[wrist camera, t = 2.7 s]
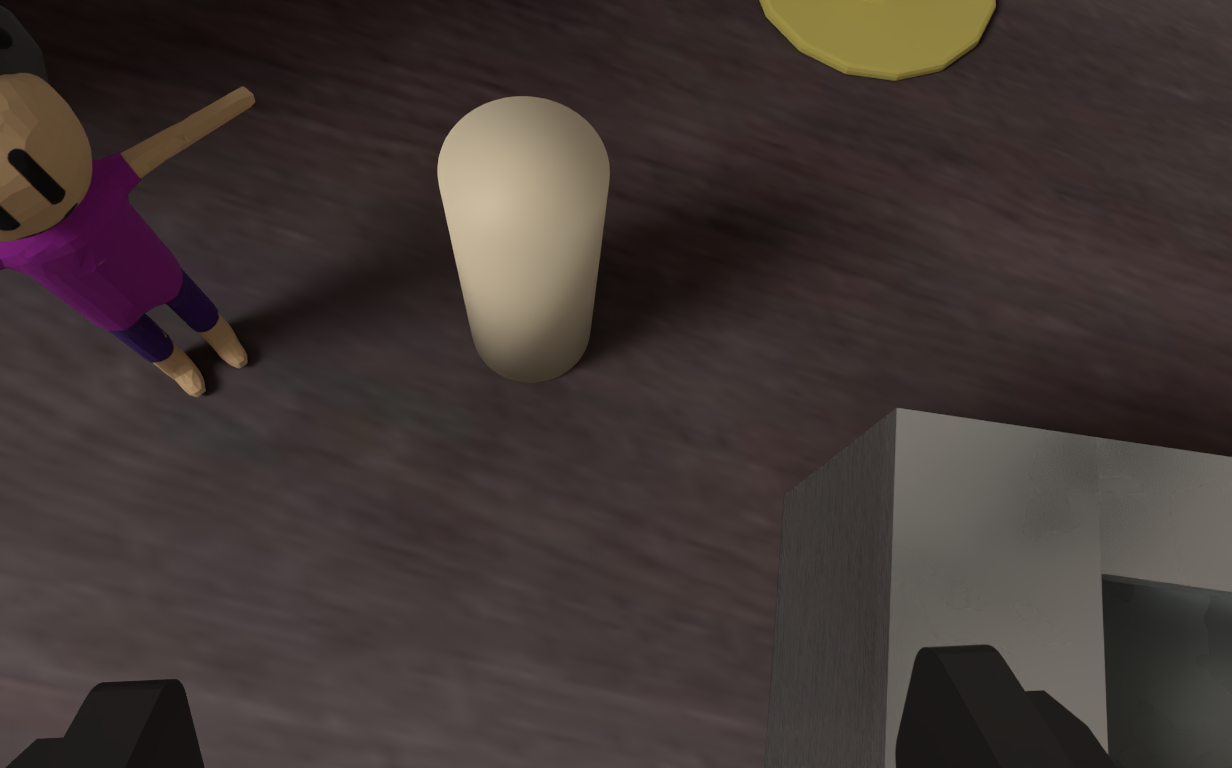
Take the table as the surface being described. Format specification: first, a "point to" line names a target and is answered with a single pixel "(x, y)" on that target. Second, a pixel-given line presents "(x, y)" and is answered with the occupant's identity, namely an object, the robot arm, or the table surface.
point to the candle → (882, 33)
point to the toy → (97, 214)
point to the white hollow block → (1006, 587)
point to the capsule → (526, 231)
